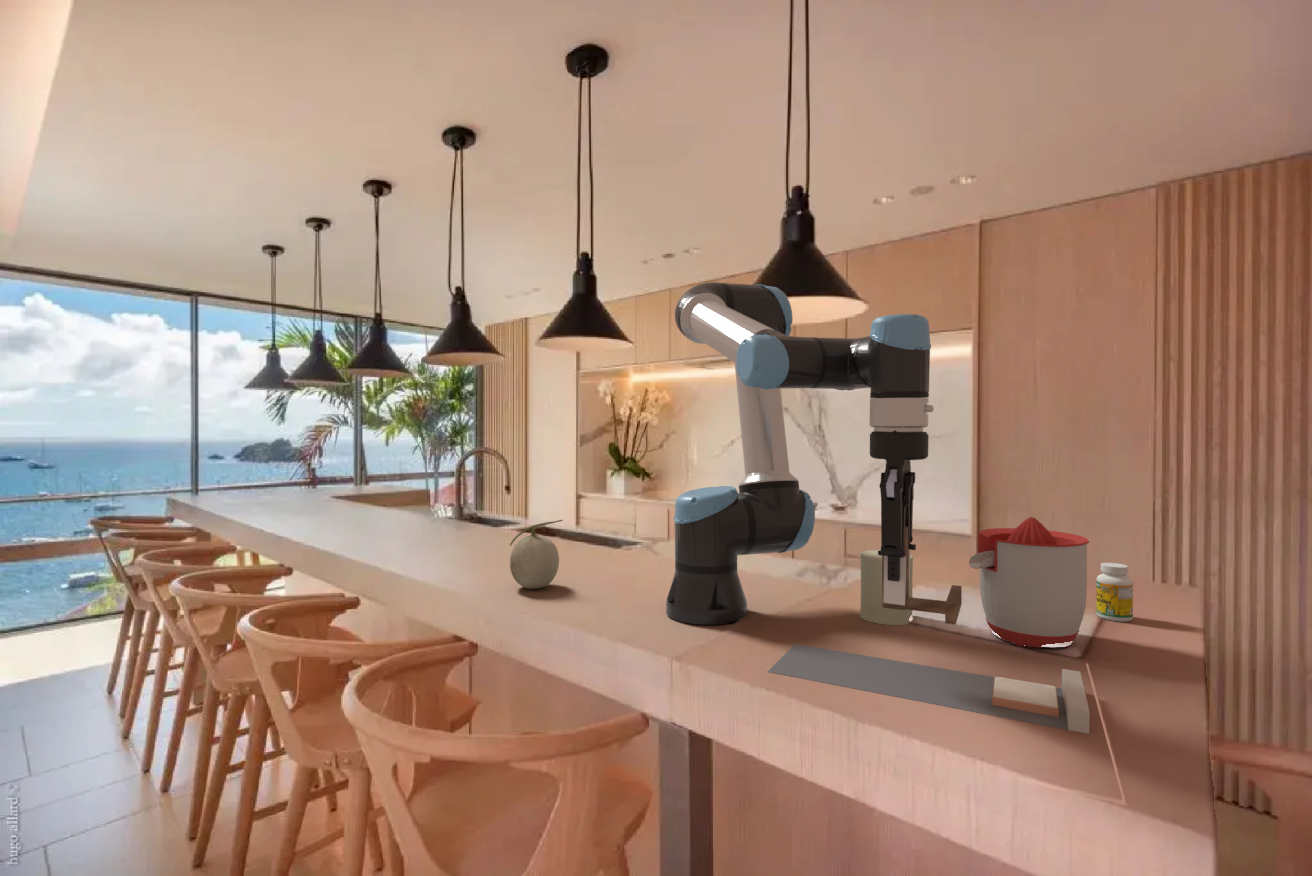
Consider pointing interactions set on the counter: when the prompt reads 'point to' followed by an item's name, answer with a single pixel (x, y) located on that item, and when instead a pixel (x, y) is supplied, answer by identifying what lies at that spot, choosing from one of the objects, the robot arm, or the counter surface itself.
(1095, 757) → the counter surface
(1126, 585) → the supplement bottle
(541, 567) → the fruit
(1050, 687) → the tile
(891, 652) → the counter surface
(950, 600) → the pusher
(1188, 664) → the counter surface
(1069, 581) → the citrus juicer
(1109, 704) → the counter surface
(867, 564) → the can
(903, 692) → the grey board
